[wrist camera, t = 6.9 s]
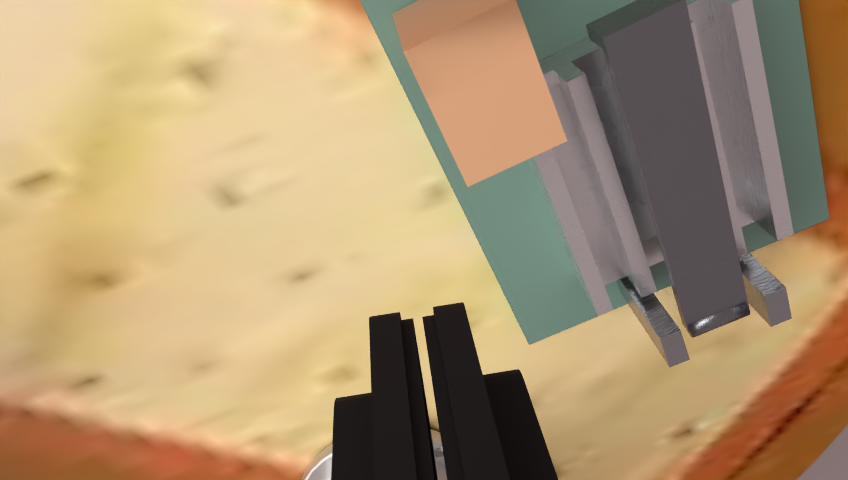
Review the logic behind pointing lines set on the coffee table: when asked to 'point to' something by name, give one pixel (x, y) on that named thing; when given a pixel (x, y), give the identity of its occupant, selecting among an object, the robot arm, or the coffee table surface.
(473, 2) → the bracket
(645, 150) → the strap
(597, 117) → the heatsink
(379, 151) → the coffee table surface
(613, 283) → the circuit board
